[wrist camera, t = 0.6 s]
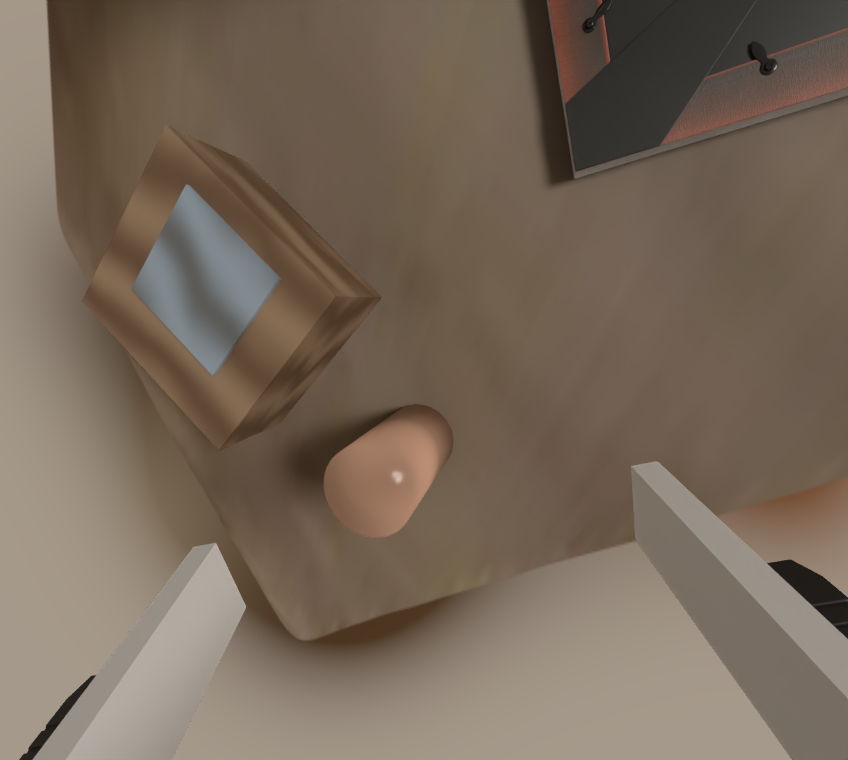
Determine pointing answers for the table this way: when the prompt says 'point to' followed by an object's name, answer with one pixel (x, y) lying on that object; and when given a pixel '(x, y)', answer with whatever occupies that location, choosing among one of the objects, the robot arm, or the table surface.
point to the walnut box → (224, 290)
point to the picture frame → (689, 70)
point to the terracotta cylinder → (388, 471)
